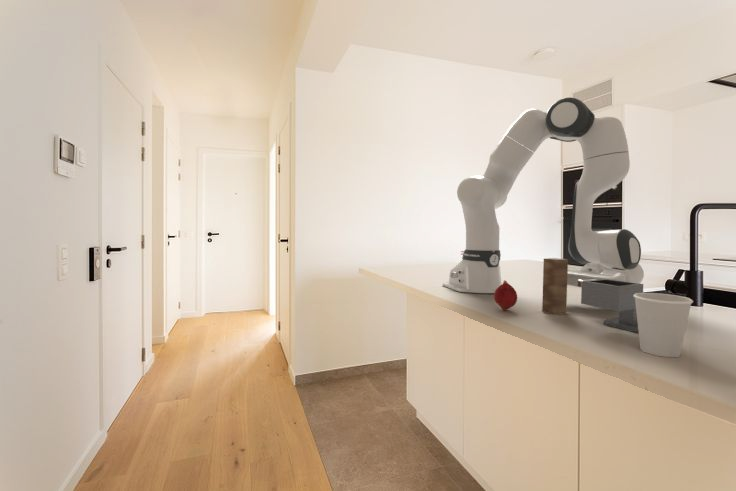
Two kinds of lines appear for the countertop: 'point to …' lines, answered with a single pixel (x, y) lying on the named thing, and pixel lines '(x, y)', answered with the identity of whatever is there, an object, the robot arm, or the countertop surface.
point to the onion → (505, 296)
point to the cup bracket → (613, 300)
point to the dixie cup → (662, 322)
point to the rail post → (555, 285)
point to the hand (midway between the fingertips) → (563, 281)
